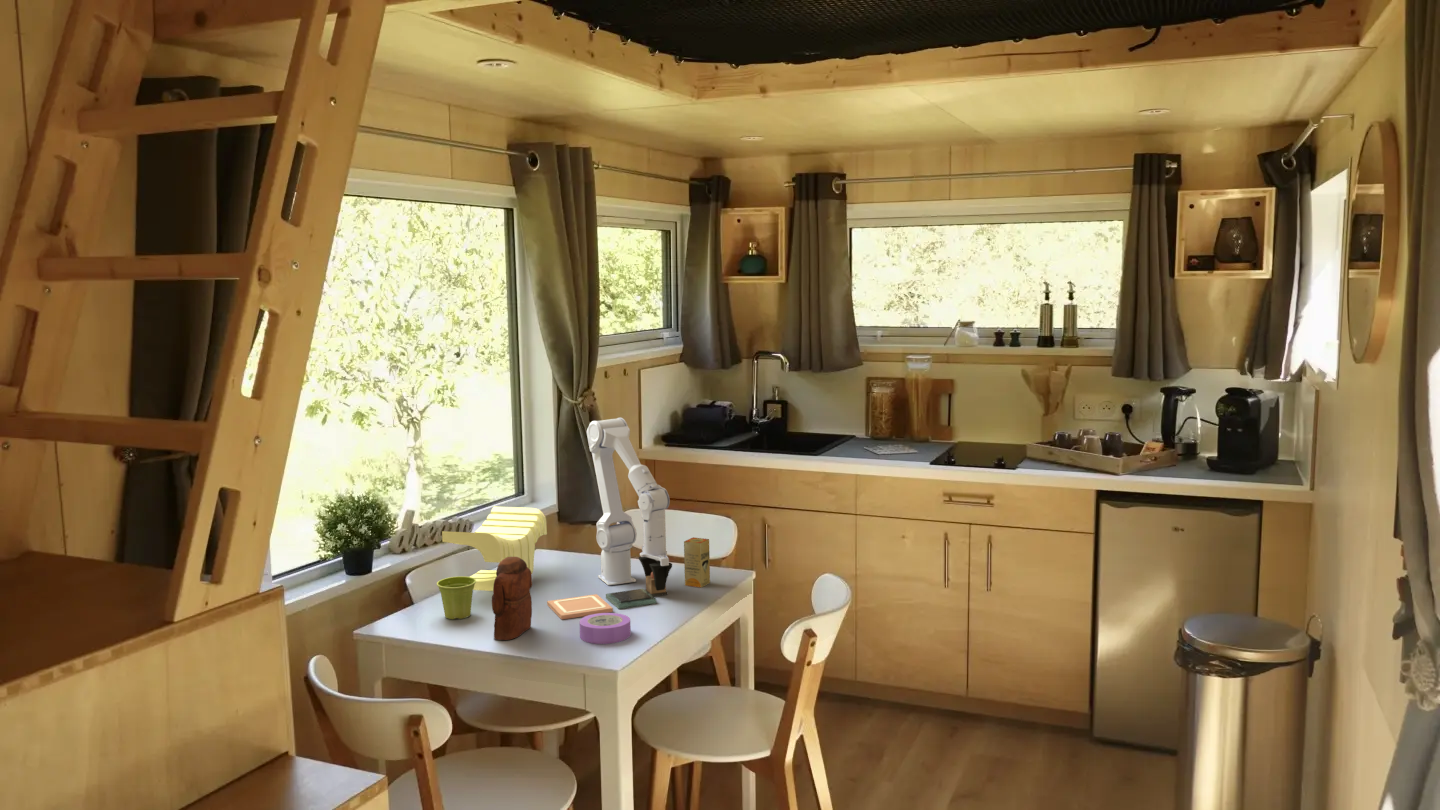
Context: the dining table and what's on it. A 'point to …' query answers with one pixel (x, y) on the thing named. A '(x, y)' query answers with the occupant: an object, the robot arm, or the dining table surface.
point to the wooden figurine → (512, 599)
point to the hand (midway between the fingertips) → (655, 586)
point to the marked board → (579, 606)
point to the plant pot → (457, 596)
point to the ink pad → (630, 598)
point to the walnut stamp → (653, 587)
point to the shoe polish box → (697, 562)
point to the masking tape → (605, 628)
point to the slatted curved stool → (503, 539)
